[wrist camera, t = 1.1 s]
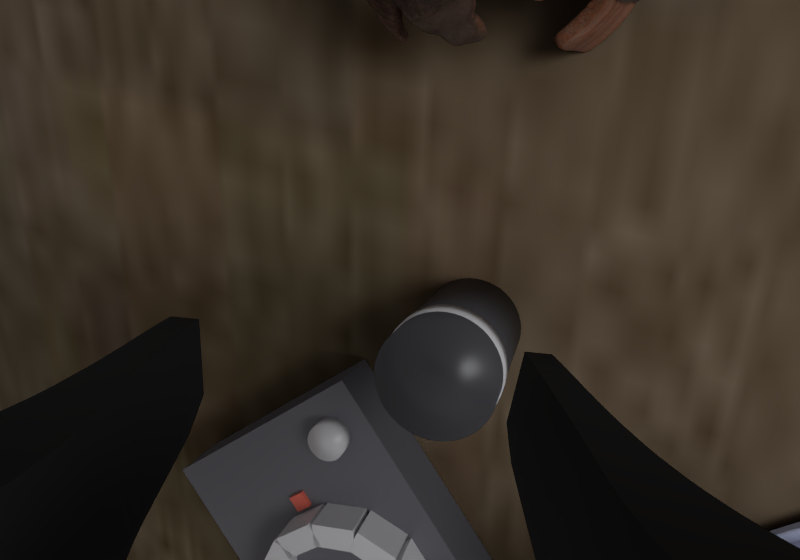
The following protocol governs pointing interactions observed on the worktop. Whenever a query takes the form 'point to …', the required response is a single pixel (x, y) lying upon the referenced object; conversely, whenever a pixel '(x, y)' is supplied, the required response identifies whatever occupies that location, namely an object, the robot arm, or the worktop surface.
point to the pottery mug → (459, 24)
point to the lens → (449, 361)
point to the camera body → (331, 483)
